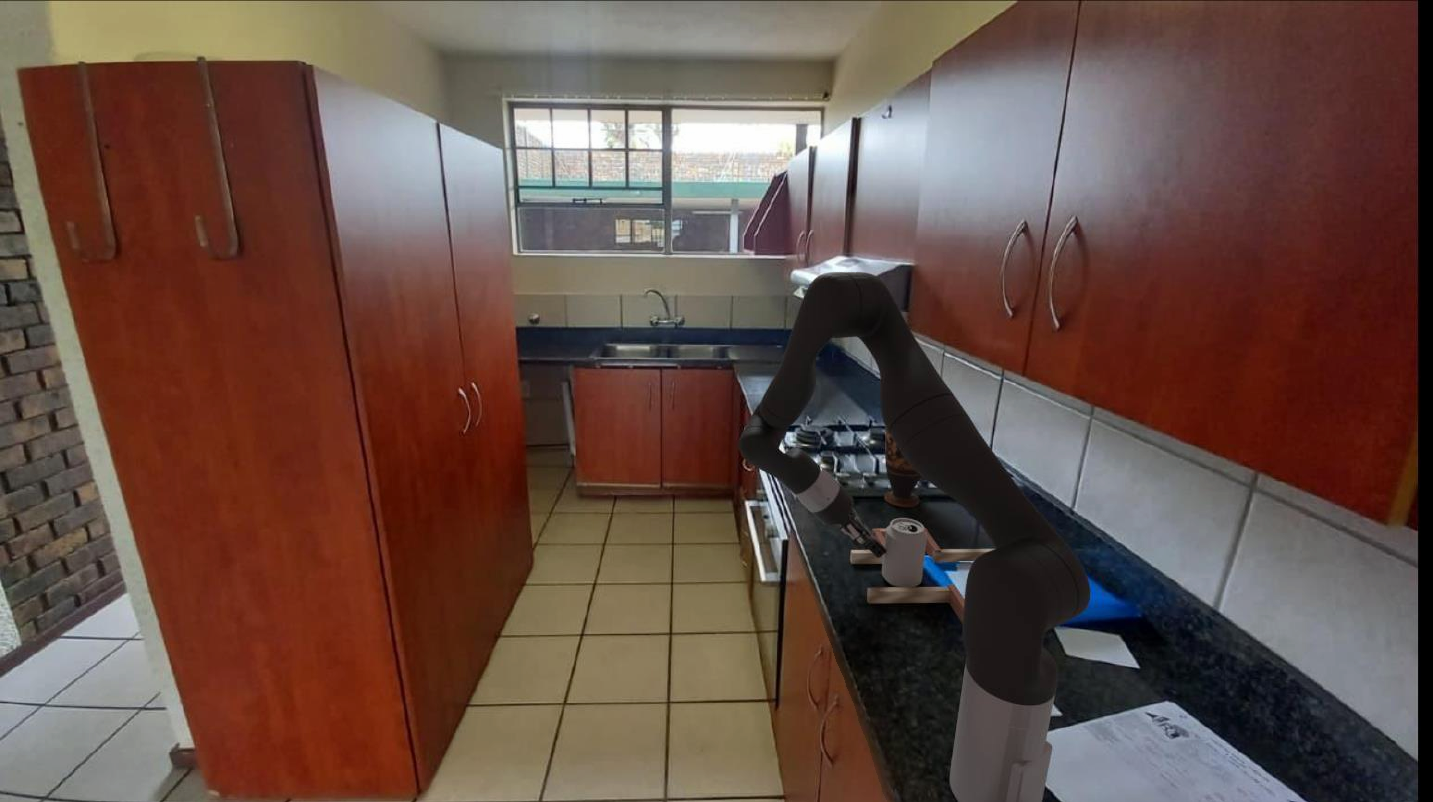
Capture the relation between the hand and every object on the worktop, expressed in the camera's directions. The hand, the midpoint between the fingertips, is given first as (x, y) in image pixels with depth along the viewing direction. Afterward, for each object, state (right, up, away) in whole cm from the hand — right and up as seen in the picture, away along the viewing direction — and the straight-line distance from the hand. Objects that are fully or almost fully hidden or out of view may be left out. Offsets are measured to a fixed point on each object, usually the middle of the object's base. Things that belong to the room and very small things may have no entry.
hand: (881, 552), depth 113 cm
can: (+4, -6, +2) cm, 7 cm away
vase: (+15, +4, +35) cm, 39 cm away
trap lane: (+12, -6, +2) cm, 14 cm away
